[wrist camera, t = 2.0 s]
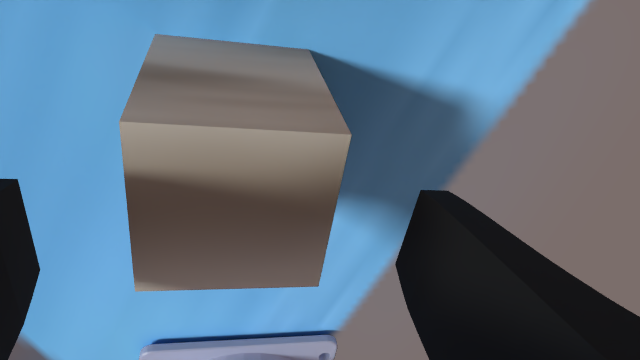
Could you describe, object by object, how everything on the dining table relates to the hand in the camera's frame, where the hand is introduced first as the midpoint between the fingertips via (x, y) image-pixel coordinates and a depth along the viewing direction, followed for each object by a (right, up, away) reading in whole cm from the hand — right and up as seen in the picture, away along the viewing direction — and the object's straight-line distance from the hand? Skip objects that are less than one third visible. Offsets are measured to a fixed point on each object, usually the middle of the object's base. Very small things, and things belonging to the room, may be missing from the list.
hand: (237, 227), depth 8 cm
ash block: (-1, +3, +4) cm, 5 cm away
